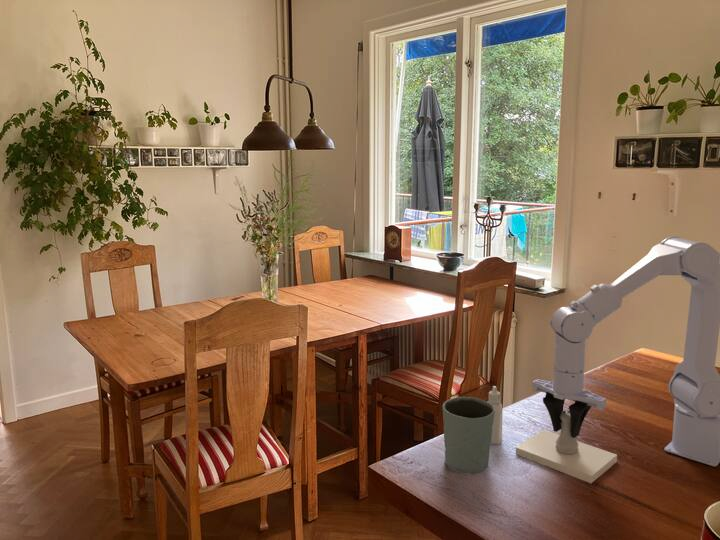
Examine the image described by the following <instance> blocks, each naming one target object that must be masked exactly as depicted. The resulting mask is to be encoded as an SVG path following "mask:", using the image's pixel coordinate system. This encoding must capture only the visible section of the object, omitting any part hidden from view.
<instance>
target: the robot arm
mask: <svg viewBox="0 0 720 540" xmlns="http://www.w3.org/2000/svg"><path fill="white" fill-rule="evenodd" d="M658 276H681V277H682V279H684V280H685V281H686V282H687V283H688V284H689V285H691V287H690V297H689V304H688V305H689V307H688V314H687V315H688V317H687V324H686V333H685V343H684V351H683V360H682V361H681V362H680V363H678V364H676V365H675V366H674V367H675V368H674V372H673V375H672V377H671V379H670V380H669V381H668V382H669V383H668V391H669V393H670V395H671V396H672V397H673V403H674V411H673V424H672V425H673V427H672V439H671V441H670V442H669V443H668V444H667V445H666V446H665V447H664V449H663V450H664V451H665V452H667V453H670V454H674V455H675V456H679V457H683V458H686V459H689V460H692V461H696V462H698V463H700V464H701V463H702V464H704V465H705V464H706V465H707V466H708V465H709V466H711V467H717V466H718V465H719V464H720V373H719V372H718V370H717V368H716V360H717V351H718V344H719V335H720V253H719V251H718V250H716V248H714V247H713V246H711V245H710V244H709V243H707V242H702V241H694V240H691V239H686V238H682V237H680V236H679V237H678V236H676V235H675V236H668V237H666V238H665V239H663V240H662V241H661V242H660V243H657V244H656V245H654V246H652V247H651V249H650V250H649V252H648V254H646V255H645V256H644V257H643V258H641V259H640V260H639V261H637V263H635V264H634V265H633V266H631V267H630V268H629V269H628V270H626V271H625V272H623V273H622V274H621V275H619V277H618V278H616V279H615V280H614V281H613V282H611V283H610V284H609V283H600V284H593V285H592V286H591V287H589V289H590V291H587V293H586V294H584V295H583V296H581V297H580V298H578V299H577V300H576V301H575V300H572V301H570V303H569V306H562V307H559V308H558V309H557V310H555V312H554V313H553V316H552V318H551V319H549V325H550V327H551V329H552V331H554V345H553V368H552V369H553V371H552V372H553V375H552V376H553V377H552V381H548V380H543V379H535V380H533V381H532V382H531V383H532V391H533V392H542V393H545V396H544V397H543V398H542V403H543V404H544V406H545V408H546V409H547V413H548V415H549V418H550V420H551V425H552V429H553V430H552V431H553V432H554V433H555V432H556V433H558V432H559V431H561V422H562V420H561V418H560V415H561V414H562V412H563V411H564V407H565V401H566V400H569V401H573V402H574V403H572V404H571V405H569V406H568V409H569V411H570V416H571V437H573V438H577V437H578V436H580V431H581V428H582V426H583V423H584V420H585V419H586V417H587V415H588V413H589V411H590V410H591V408H595V409H596V410H597V411H603V410H604V409H606V408H607V398H606V397H603V396H600V395H598V394H596V393H594V392H591V391H589V390H587V389H585V388H584V387H585V383H584V382H585V366H586V365H585V362H586V339H589V337H591V334H592V332H593V330H594V327H596V325H597V324H600V323H601V322H602V321H603V320H605V319H606V318H607V317H609V316H610V315H612V314H613V313H615V312H616V311H617V310H619V309H620V308H621V307H622V304H623V299H624V298H625V297H627V296H628V295H630V294H631V293H634V291H636V290H639V288H641V287H643V286H645V285H646V284H647V283H649V282H651V281H653V280H655V279H656V278H657V277H658Z"/></svg>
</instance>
